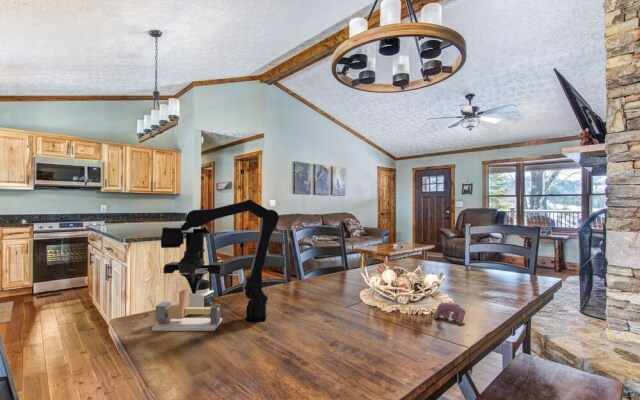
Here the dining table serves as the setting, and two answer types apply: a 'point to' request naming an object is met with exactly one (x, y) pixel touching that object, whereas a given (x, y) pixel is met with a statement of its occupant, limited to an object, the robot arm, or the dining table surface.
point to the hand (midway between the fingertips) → (194, 293)
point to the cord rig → (187, 323)
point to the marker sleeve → (180, 305)
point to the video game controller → (452, 307)
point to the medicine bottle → (202, 296)
